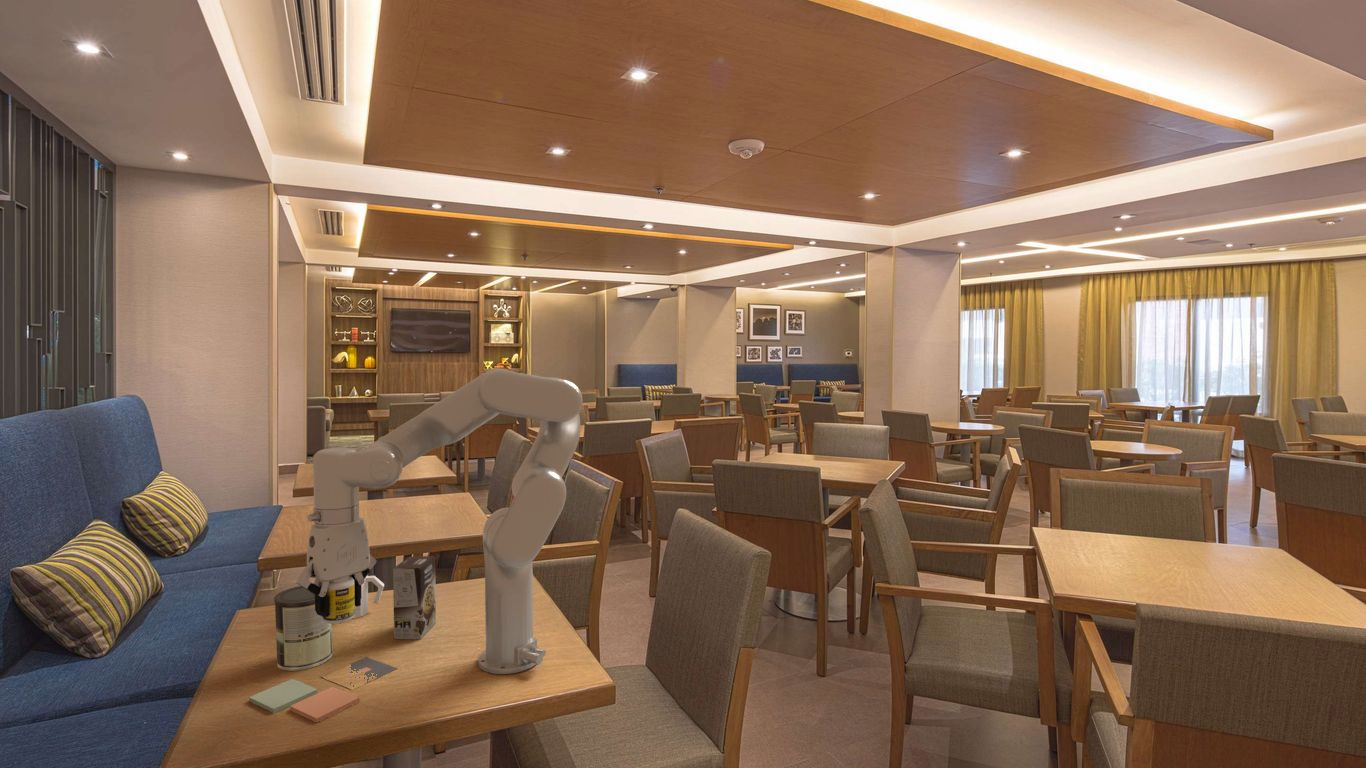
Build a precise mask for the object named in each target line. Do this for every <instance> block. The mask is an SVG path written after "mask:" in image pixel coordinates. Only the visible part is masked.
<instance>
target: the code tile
mask: <svg viewBox="0 0 1366 768" xmlns="http://www.w3.org/2000/svg"><path fill="white" fill-rule="evenodd" d="M350 664H351V667H350V668H351V670H353V671H356V673H358V672H357V671H361V673H363V671H364V672H365V674H364V675H366V676H367V677H368V679H367V684H369V683H368V680H369V677H371V676H372V674H371V673H374V674H373V676H375V677H377V679H379V677H380V678H382V677H383V675H384V676H386V675H387V674H390V673H392V672H394V671H396V670H398V669H399V668H397V667H396V666H392V665H390V664H386V663H384V662H381V661H378V660H375V659H373V658H371V657H368V656H365V657H362V658H361V659H358V660H356V661H354V662H352V663H350ZM354 669H356V670H354ZM359 669H361V670H359ZM350 673H353V672H352V671H351V672H350ZM354 674H355V673H354ZM368 674H369V675H368ZM376 674H377V676H376ZM385 674H386V675H385ZM381 676H382V677H381ZM350 678H353V677H352V675H350ZM355 678H356V675H355ZM359 678H360V677H359ZM364 679H365V677H364ZM372 679H373V677H372ZM351 683H352V682H351ZM351 683H350V685H351ZM353 687H354V685H353Z"/></svg>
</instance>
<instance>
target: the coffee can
mask: <svg viewBox="0 0 1366 768" xmlns="http://www.w3.org/2000/svg"><path fill="white" fill-rule="evenodd" d="M273 600H274V601H273V602H274V609H275V610H274V611H275V636H276V639H275V641H276V666H277V668H278V669H280V670H283V671H290V672H292V671H293V672H294V671H295V672H296V671H303V670H308V669H312V667H313V668H316V667H318V666H320V664H321V665H322V664H324V662H325V663H326V662H328V661H329V660H330V659H332V657H333V655H334V652H333V634H332V633H333V631H332V629H333V628H332V625H333V624H328V623H325V622H324V621H323V617H322V616H320V615H317V613H316V611H315V595H314V594H312V593H311V592H310V591H308V590H307V589H306V588H304V587H302V586H300V585H298V586H295V587H294V586H293V587H290V588H287V589H285V590H282V591H281V592H278V593H277V594H276V595H275V596H274V599H273ZM327 660H328V661H327ZM315 666H316V667H315Z"/></svg>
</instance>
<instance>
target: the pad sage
mask: <svg viewBox="0 0 1366 768" xmlns="http://www.w3.org/2000/svg"><path fill="white" fill-rule="evenodd" d="M317 693H318V688H315V687H313V686H311V685H308V684H306V683H303V682H301V681H299V680H297V679H294V678H291V679H288V680H287V681H284V682H281V683H279V684H277V685H275V686H271V687H269V688H267V689H265V690H263V691H260V692H258V693H255V694H254V695H251V696H249V697H248V702H250V703H252V704H254V705H256V706H258V707H260V708H262V709H264V710H266V711H268V712H271V713H273V714H276V713H278V712H280V711H282V710H285V709H287V708H290V706H291V705H293V704H296V703H298V702H300V701H302V700H304V699H307V698H309V697H311V696H313V695H315V694H317Z"/></svg>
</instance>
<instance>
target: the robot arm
mask: <svg viewBox="0 0 1366 768" xmlns="http://www.w3.org/2000/svg"><path fill="white" fill-rule="evenodd" d="M583 403H584V402H583V394H582V391H581V390H580V388H579V387H578V386H577V384H575V383H574V382H572V381H570V380H568V379H564V378H560V377H552V376H551V377H546V376H542V375H541V376H540V375H533V374H527V373H522V372H517V371H514V370H513V371H512V370H508V369H504V368H497V367H496V368H491V369H489V370H487V371H485V372H483V373H482V374H479V375H478V376H477V377H475V378H474V379H472V380H470V381H469V382H468V383H465V384H464V385H463V386H461V387H460V388H458V389H456V390H455V391H453V392H452V393H450V394H449V395H447V396H446V397H444V398H443V399H441V400H440V401H438V402H436V403H434V404H433V405H431V406H430V407H428V408H426V409H425V410H424V411H422V412H420V413H419V414H418V415H415V416H414V417H413V418H411V419H409V420H407V421H406V422H404V423H403V424H401V425H399V426H398V427H396V428H394V429H393V430H391V431H390V432H388V433H386V434H385V435H383V436H382V437H381V438H379V439H377V440H375V441H374V442H373V443H371V444H370V445H369V446H367V448H366V449H365V450H361V451H360V450H359V451H356V450H355V449H354V448H349V447H333V448H332V447H330V448H324V449H319V450H318V451H316V452H315V454H314V455H313V458H312V468H313V470H312V472H313V511H312V513H309V514H307V520H308V522H311V523H312V522H313V523H314V524H311V526H310V530H309V534H308V535H309V536H308V540H307V549H306V566H305V568H304V569H303V570H302V572H301V573H300V575H299V576H298V577H297V579H296V580H295V583H296V584H297V585H298V586H302V587H304V588H306V589H307V590H308V591H310V592H311V593H312V594H314V595H315V611H316V613H317V615H320V616H322V617H325V618H326V617H328V616H329V615H330V609H329V596H328V595H326V592H327V589H328V585H329V582H330V581H332V580H335V579H339V578H342V577H346V576H350V577H352V578H353V579H354V584H355V606H357V607H358V606H360V605H361V597H362V595H361V585H362V584H363V583H364V579H365V578H366V576H369V574H370V571H371V570H372V569H373V567H374V566H375V565H376V564H377V559H376V558H375V557H374V556H373V555H372V554H370V553H371V552H370V543H369V542H370V541H369V535H368V532H367V531H368V530H367V526H366V522H365V518H363V517H360V488H365V489H367V488H368V489H383V488H384V489H385V488H388V487H390V486H392V485H395V483H397V482H398V480H399V479H400V477H401V475H402V472H403V469H404V468H406V467H407V466H408V465H410V464H411V463H413V462H414V461H416V460H418V459H419V458H421V457H422V456H423V455H425V454H427V453H429V452H430V451H431V452H432V451H433V450H435V449H438V448H440V447H443V446H449V445H452V444H454V443H457V442H459V441H461V440H462V439H463V438H465V437H467V436H469V435H470V434H471V433H473V432H474V431H476V430H477V429H478V428H480V427H481V426H483V425H484V424H486V423H488V422H489V421H491V420H492V419H494V418H495V417H497V416H498V415H500V414H501V415H505V416H511V417H515V418H517V417H518V418H523V419H529V420H538V421H540V422H539V423H540V425H539V428H538V433H537V435H536V438H535V440H534V441H533V443H532V445H531V447H530V450H529V451H528V453H527V455H526V456H525V458H524V460H523V462H522V464H521V465H520V467H519V468H518V470H517V471H516V473H515V475H514V477H513V479H512V482H511V491H512V495H513V497H514V498H513V500H512V501H511V503H510V505H509V507H502V508H499V509H497V510H496V511H494V512H492V513H491V514H490V515H489V516H488V517H487V519H486V521H485V523H484V525H483V530H482V546H483V558H484V559H483V561H484V600H485V601H484V603H485V604H484V605H485V606H484V607H485V608H484V609H485V611H484V612H485V614H484V615H485V616H484V617H485V650H483V651H482V652H481V653H480V654H479V656H478V658H477V664H478V665H477V666H478V667H479V668H480V669H481V670H482V671H484V672H486V673H490V674H495V675H508V674H516V673H521V672H524V671H526V670H529V669H531V668H533V667H534V666H536V665H541V664H542V663H543V658H544V657H545V656H546V655H547V654H546V653H547V650H546V649H542V648H539V646H538V639H537V638H534V605H533V603H534V599H533V598H534V597H533V596H534V591H533V589H534V588H533V585H534V582H533V581H534V575H533V574H534V573H533V572H534V571H533V561H534V560H535V559H536V557H537V556H538V554H539V553H540V552H541V550H542V548H543V547H544V545H545V543H546V541H547V539H548V537H549V536H550V534H551V531H553V528H554V526H555V524H556V522H557V520H558V519H559V517H560V515H561V513H562V511H563V509H564V506H565V504H566V500H567V486H566V484H565V481H564V479H563V477H564V475H565V473H566V471H567V469H568V467H569V465H570V463H571V461H572V459H573V456H574V454H575V452H576V449H577V447H578V444H579V443H580V442H579V441H580V437H581V428H582V427H581V417H580V412H581V409H582V407H583V405H584V404H583ZM310 578H313V579H314V581H313V582H312V581H310Z"/></svg>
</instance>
